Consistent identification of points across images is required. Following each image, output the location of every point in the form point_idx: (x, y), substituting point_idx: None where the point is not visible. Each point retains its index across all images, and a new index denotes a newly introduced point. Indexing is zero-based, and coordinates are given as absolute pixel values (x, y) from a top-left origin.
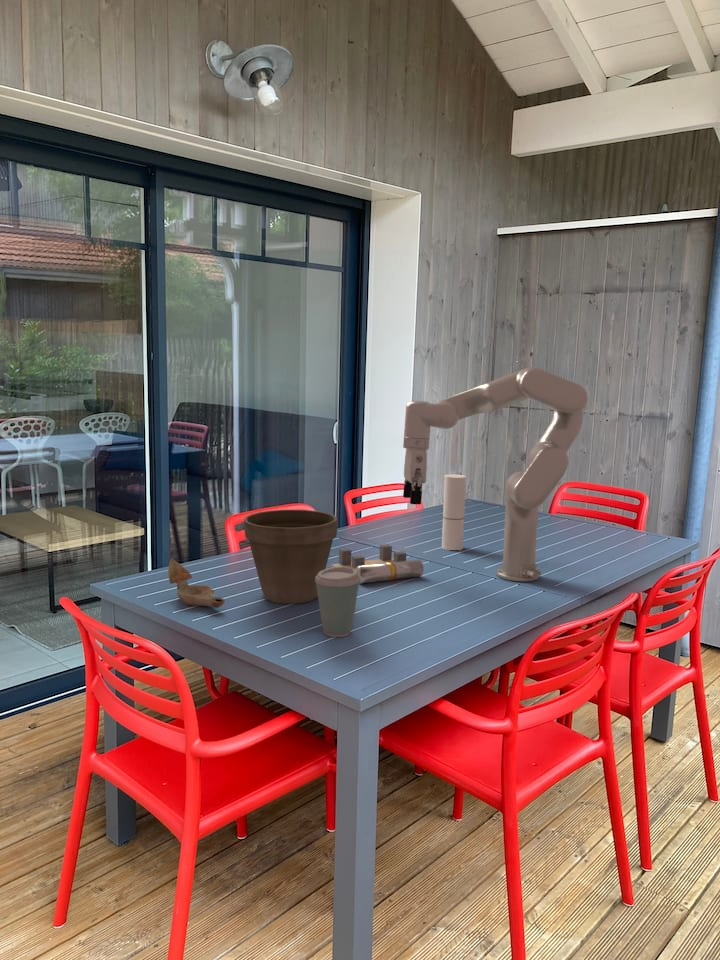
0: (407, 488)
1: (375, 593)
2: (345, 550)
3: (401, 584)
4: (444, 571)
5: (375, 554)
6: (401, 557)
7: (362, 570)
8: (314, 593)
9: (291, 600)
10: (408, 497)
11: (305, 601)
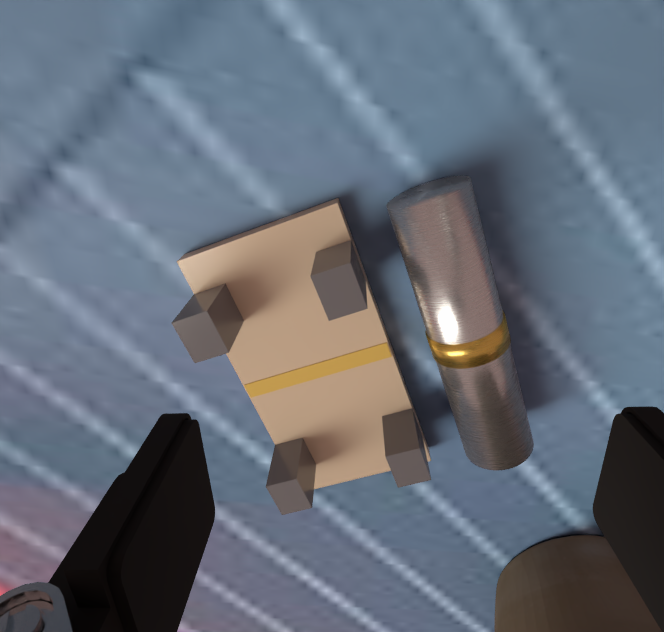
0: (167, 598)
1: (615, 385)
2: (297, 497)
3: (528, 280)
4: (343, 21)
5: (69, 315)
6: (359, 280)
7: (529, 452)
8: None
9: None
10: (207, 470)
11: None
